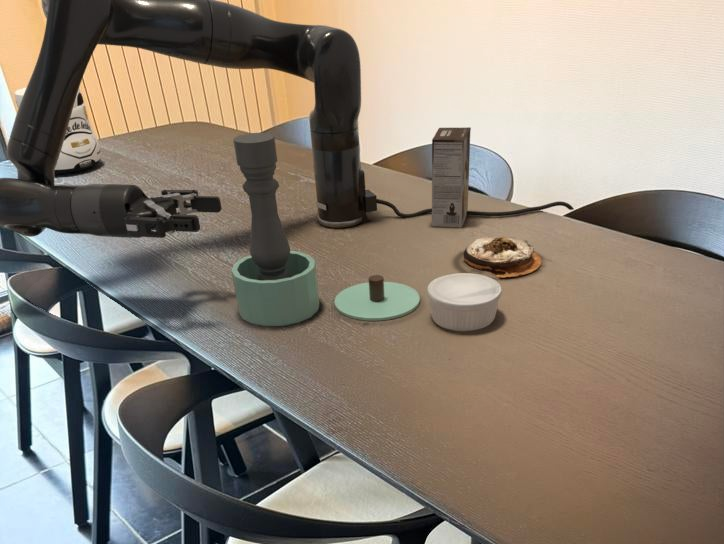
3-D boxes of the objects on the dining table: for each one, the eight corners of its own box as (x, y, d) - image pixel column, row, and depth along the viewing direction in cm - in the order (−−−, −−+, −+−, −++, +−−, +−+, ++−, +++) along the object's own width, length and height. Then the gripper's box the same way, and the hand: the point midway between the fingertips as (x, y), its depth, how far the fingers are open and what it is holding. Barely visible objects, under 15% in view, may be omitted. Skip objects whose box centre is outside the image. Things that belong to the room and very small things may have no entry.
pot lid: (400, 282, 121) (399, 255, 118) (433, 313, 112) (434, 285, 109) (323, 297, 118) (321, 270, 115) (351, 331, 108) (349, 303, 105)
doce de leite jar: (92, 177, 178) (68, 95, 166) (24, 179, 178) (-4, 98, 166) (113, 158, 191) (92, 81, 179) (50, 160, 191) (25, 83, 180)
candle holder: (297, 298, 117) (276, 130, 100) (297, 315, 112) (275, 141, 96) (259, 301, 116) (232, 133, 100) (258, 318, 112) (229, 144, 95)
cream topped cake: (443, 271, 124) (443, 247, 121) (474, 242, 134) (475, 219, 131) (524, 283, 119) (526, 259, 116) (550, 252, 129) (553, 229, 126)
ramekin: (479, 343, 104) (481, 309, 100) (413, 327, 108) (413, 294, 105) (511, 313, 111) (514, 280, 107) (448, 299, 115) (449, 267, 112)
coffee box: (437, 211, 148) (438, 126, 137) (468, 212, 147) (471, 126, 136) (430, 227, 141) (431, 138, 131) (462, 228, 140) (466, 139, 130)
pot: (306, 289, 121) (301, 245, 116) (329, 319, 112) (325, 272, 107) (232, 303, 117) (224, 258, 112) (250, 335, 108) (242, 288, 103)
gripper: (79, 200, 101) (185, 203, 98) (125, 171, 112) (222, 173, 109) (95, 252, 106) (196, 256, 103) (138, 220, 117) (230, 223, 114)
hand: (209, 213), depth 106 cm, fingers open, 8 cm apart
